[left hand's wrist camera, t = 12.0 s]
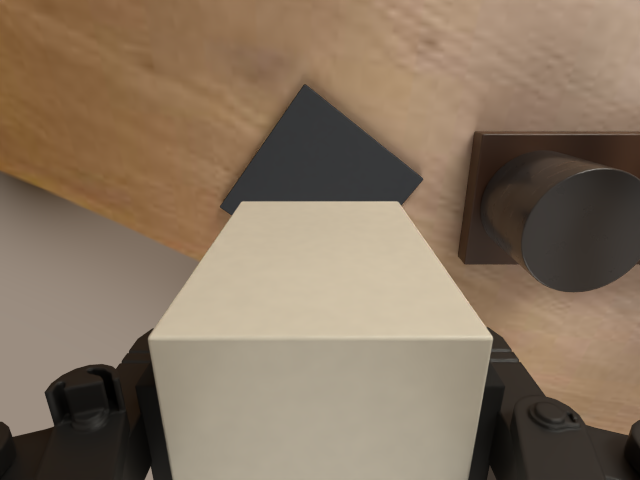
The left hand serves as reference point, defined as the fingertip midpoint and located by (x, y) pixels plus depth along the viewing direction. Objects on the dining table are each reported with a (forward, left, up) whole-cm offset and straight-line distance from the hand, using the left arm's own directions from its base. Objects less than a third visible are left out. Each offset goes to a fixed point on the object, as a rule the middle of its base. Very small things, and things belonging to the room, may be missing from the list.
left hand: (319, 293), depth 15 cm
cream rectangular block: (0, 0, -2) cm, 2 cm away
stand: (+18, +13, -15) cm, 27 cm away
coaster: (0, 0, -15) cm, 15 cm away
